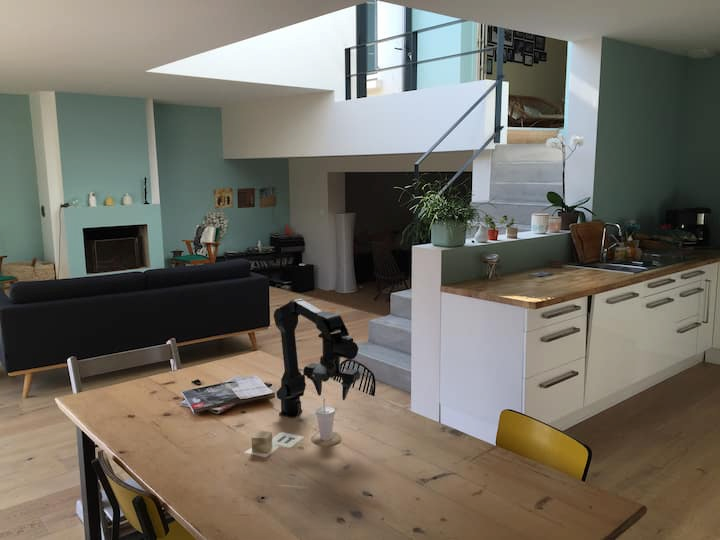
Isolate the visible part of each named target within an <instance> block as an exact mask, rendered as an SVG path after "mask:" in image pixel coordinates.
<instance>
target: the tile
mask: <svg viewBox="0 0 720 540" xmlns="http://www.w3.org/2000/svg"><path fill="white" fill-rule="evenodd" d="M278 448H280V446H278V445H274V444H272V448H271V449H270V450H269V452H268V453H267V454H266V453H252V446H251V447H250V448H249V449H247V450H246V451H245V452H244V454H249V455H253V456H254V455H255V456H257V457H258V456H259V457H263V458H267V457H268V456H270V455H271V454H272V453H274V452H275V451H276V450H278Z"/></svg>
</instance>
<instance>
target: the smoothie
mask: <svg viewBox="0 0 720 540" xmlns="http://www.w3.org/2000/svg"><path fill="white" fill-rule="evenodd" d="M322 403H323V406H321V407H318V408H316V409H315V415H316V419H317V420H316V421H317V424H318V431H319V432H318V433H320V439H321V440H330V439H331V438H332V432H333V428H334V419H335V418H334V417H335V414H336V411H335V410H336V409H335V408H334V407H331V406H326V398H325V397H323V402H322Z"/></svg>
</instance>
